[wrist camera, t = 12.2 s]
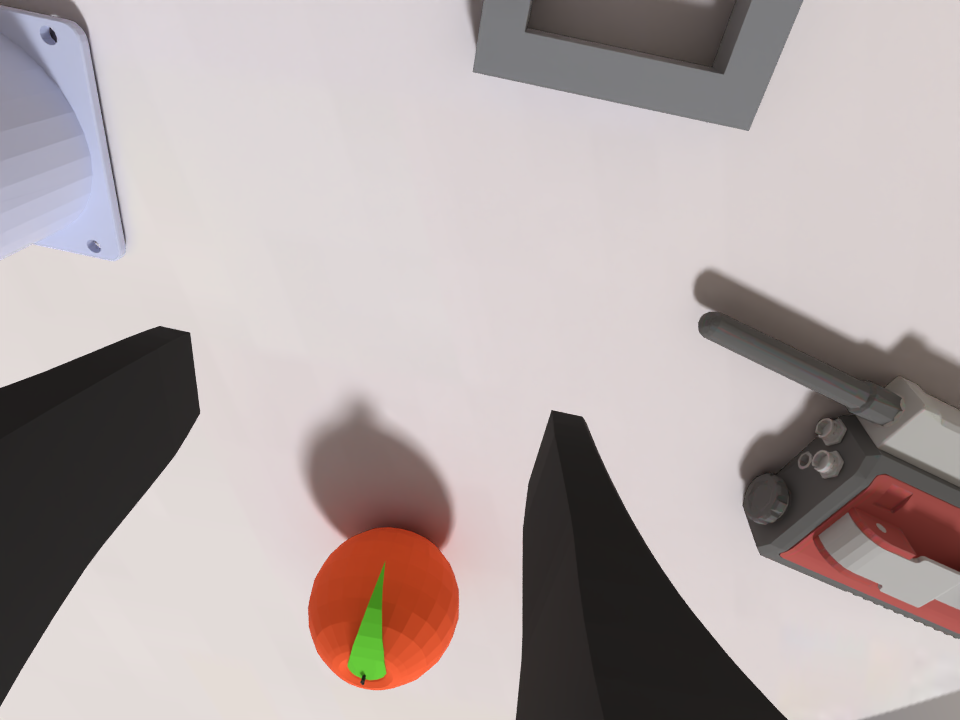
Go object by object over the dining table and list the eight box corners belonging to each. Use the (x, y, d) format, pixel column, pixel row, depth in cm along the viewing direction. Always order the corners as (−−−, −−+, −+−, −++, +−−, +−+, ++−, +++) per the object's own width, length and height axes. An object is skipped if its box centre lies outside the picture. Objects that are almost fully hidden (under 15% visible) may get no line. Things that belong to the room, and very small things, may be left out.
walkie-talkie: (1137, 489, 23) (712, 276, 21) (1243, 584, 20) (745, 342, 17) (950, 601, 28) (585, 440, 25) (1008, 694, 24) (590, 519, 22)
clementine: (336, 469, 28) (274, 603, 22) (480, 496, 27) (457, 638, 22) (336, 572, 32) (285, 707, 26) (460, 596, 32) (437, 737, 26)
